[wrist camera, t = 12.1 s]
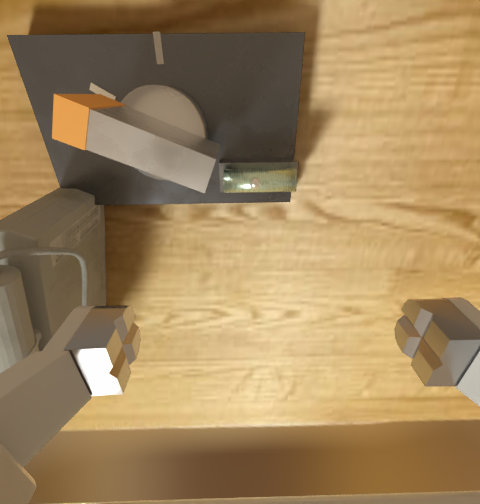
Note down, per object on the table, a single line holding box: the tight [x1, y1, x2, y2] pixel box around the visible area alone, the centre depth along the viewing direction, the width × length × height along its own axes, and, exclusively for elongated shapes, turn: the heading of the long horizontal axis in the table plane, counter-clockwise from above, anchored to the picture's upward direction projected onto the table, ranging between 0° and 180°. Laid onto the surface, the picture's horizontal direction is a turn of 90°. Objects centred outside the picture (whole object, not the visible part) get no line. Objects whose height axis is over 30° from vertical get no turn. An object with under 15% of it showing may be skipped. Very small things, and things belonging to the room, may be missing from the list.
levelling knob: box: [52, 85, 220, 193], centre depth 17 cm, size 8×6×8 cm
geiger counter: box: [0, 187, 107, 373], centre depth 26 cm, size 14×6×25 cm
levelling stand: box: [7, 32, 305, 205], centre depth 21 cm, size 20×12×5 cm, turn 91°
